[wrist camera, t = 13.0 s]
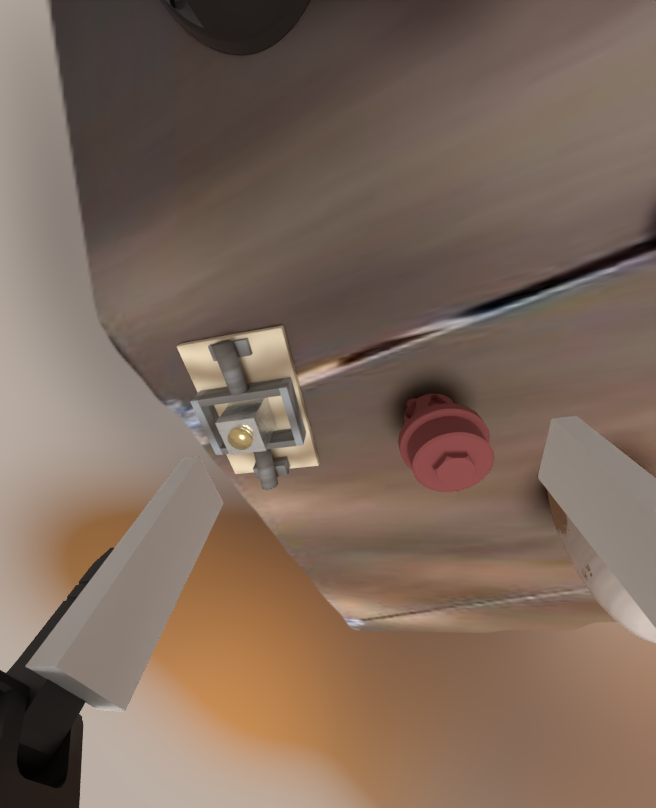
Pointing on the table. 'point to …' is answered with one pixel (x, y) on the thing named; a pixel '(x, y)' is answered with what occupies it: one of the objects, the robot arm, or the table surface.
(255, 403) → the block
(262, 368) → the shaft bench
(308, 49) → the table surface
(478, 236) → the table surface
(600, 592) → the vase
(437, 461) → the mechanical component
